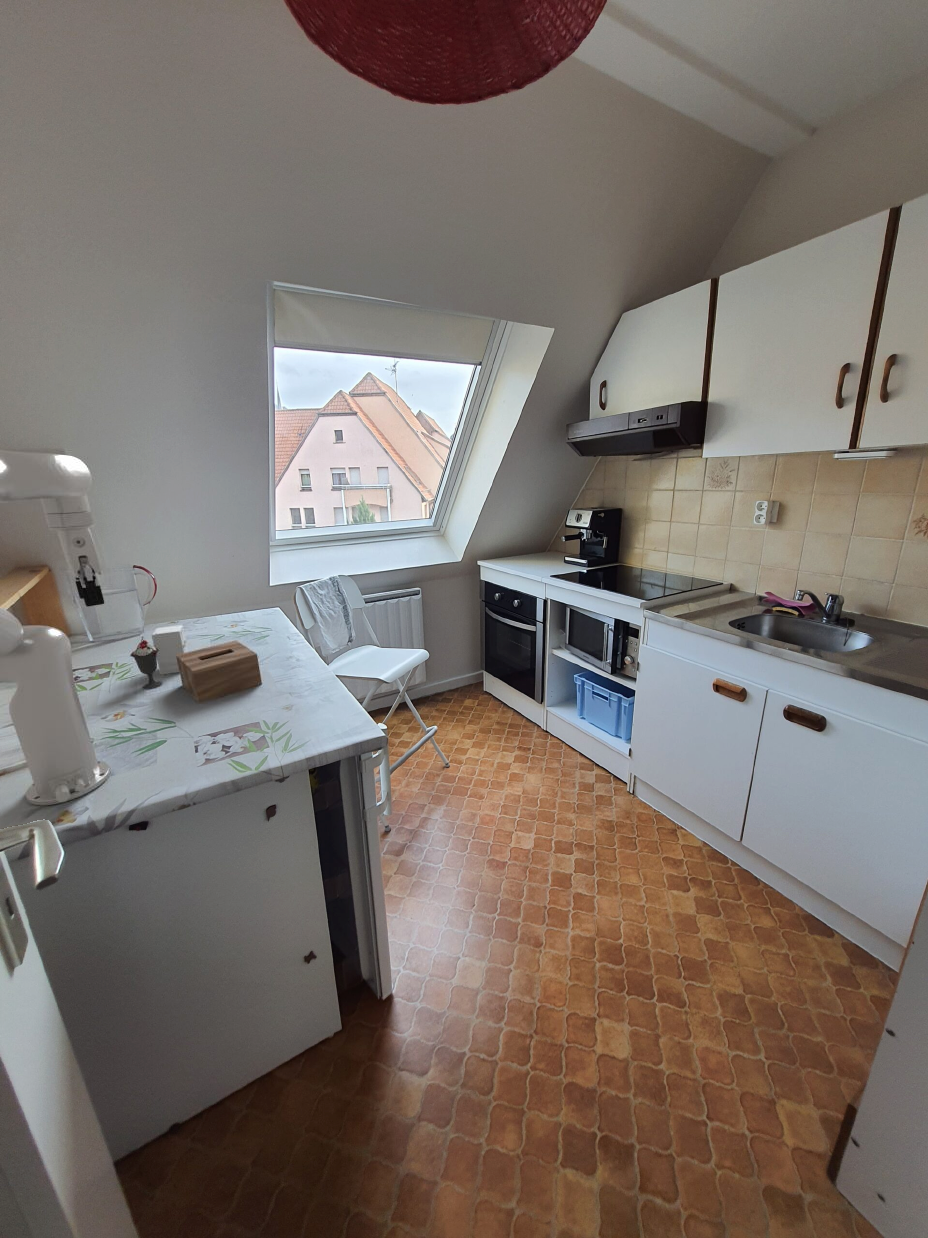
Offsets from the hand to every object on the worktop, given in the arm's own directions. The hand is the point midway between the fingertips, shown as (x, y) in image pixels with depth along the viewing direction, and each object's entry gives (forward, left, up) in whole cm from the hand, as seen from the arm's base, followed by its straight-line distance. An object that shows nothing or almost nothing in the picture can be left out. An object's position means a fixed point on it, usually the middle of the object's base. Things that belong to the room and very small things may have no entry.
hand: (92, 601), depth 104 cm
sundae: (+21, -10, -31) cm, 38 cm away
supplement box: (+30, -18, -31) cm, 46 cm away
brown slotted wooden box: (+7, -24, -30) cm, 39 cm away
